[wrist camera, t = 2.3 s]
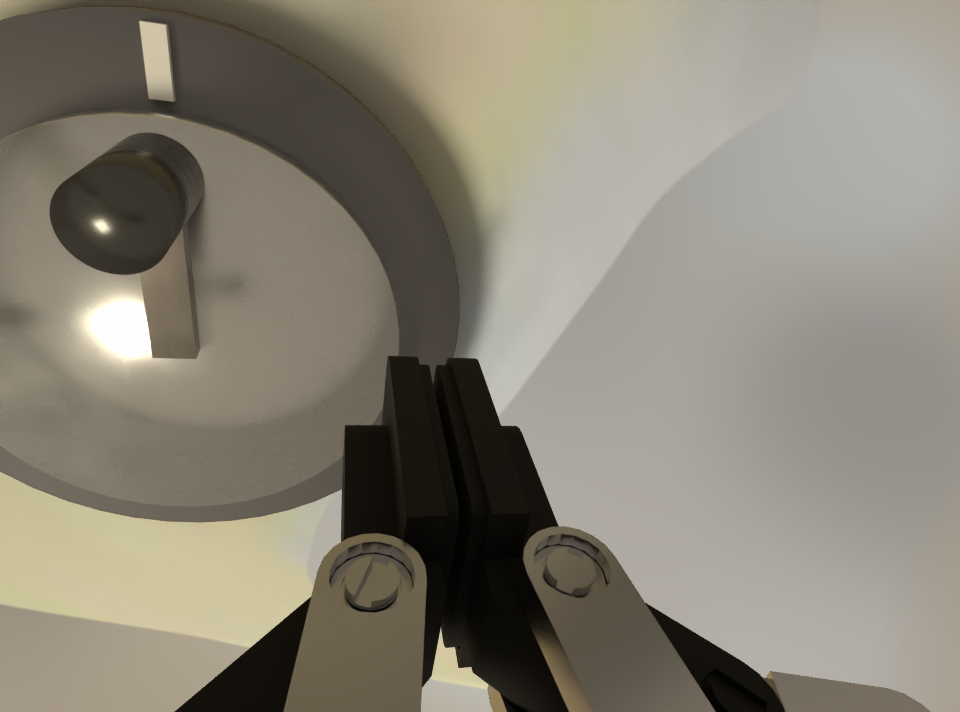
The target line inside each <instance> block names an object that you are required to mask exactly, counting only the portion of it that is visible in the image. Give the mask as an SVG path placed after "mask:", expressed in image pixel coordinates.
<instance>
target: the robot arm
mask: <svg viewBox="0 0 960 712" xmlns="http://www.w3.org/2000/svg"><path fill="white" fill-rule="evenodd" d="M341 519H342V520H341V543H339V544H337V545H336V546H334V547H333V548H332V549H331V550H330V551H329V552H328V554H327V555H326V556H325V557H324V558H323V560H322V562H321V565H320V567H319V569H318V572H317V576H316V580H315V584H314V588H313V592H312V596H311V597H310V598H309V599H308V600H306V601H305V602H304V603H303V604H302V605H301V606H299V607H298V608H297V609H296V610H295V611H293V612H292V613H291V614H290V615H289V616H288V617H286V618H285V619H284V620H283V621H282V622H280V623H279V624H278V625H277V626H276V627H275V628H273V629H272V630H271V631H270V632H269V633H267V634H266V635H265V636H264V637H263V638H261V639H260V640H259V641H258V642H257V643H256V644H254V645H253V646H252V647H251V648H250V649H249V650H247V651H246V652H245V653H244V654H243V655H241V656H240V657H239V658H238V659H237V660H235V661H234V662H233V663H232V664H231V665H230V666H228V667H227V668H226V669H225V670H224V671H222V672H221V673H220V674H219V675H218V676H217V677H215V678H214V679H213V680H212V681H211V682H209V683H208V684H207V685H206V686H205V687H203V688H202V689H201V690H200V691H199V692H198V693H196V694H195V695H194V696H193V697H192V698H190V699H189V700H188V701H187V702H186V703H184V704H183V705H182V706H181V707H180V708H179V709H177V710H176V711H175V712H421V692H422V687H423V686H424V684H425V683H426V682H427V681H428V680H429V678H430V677H431V676H432V670H433V665H434V660H435V654H436V649H437V644H438V638H439V633H440V628H441V630H442V637H443V643H444V646H445V647H446V648H449V647H455V649H456V656H457V662H458V668H464V667H472V671H473V673H474V674H476V675H477V676H478V677H480V678H481V679H482V680H484V681H485V682H486V683H488V694H489V700H490V704H491V707H492V710H493V712H930V711H929V710H928V709H927V708H925V707H924V706H923V705H922V704H920V703H919V702H917V701H915V700H914V699H912V698H910V697H909V696H907V695H905V694H904V693H900V692H897V691H894V690H891V689H888V688H882V687H875V686H868V685H861V684H855V683H848V682H840V681H834V680H827V679H820V678H813V677H807V676H800V675H793V674H786V673H779V672H772V671H770V672H769V674H768V675H767V677H766V678H763V677H761V676H760V674H758V673H757V672H756V671H754V670H753V669H752V668H750V667H749V666H748V665H746V664H745V663H744V662H742V661H741V660H739V659H737V658H736V657H734V656H732V655H731V654H729V653H727V652H726V651H724V650H722V649H721V648H719V647H717V646H716V645H714V644H712V643H710V642H709V641H708V640H706V639H704V638H703V637H701V636H699V635H698V634H696V633H694V632H692V631H691V630H689V629H688V628H686V627H684V626H683V625H681V624H679V623H678V622H676V621H674V620H673V619H671V618H669V617H668V616H666V615H665V614H663V613H661V612H660V611H658V610H656V609H655V608H653V607H651V606H650V605H648V604H646V603H645V602H644V601H643V599H642V597H641V596H640V594H639V593H638V591H637V590H636V588H635V587H634V585H633V584H632V582H631V580H630V579H629V578H628V576H627V574H626V573H625V571H624V570H623V568H622V567H621V565H620V564H619V562H618V561H617V559H616V558H615V556H614V555H613V553H611V551H610V550H609V549H608V548H607V547H606V545H605V544H603V543H602V542H601V541H599V540H598V539H597V538H595V537H594V536H592V535H590V534H588V533H586V532H584V531H581V530H579V529H574V528H570V527H558V524H557V522H556V519H555V516H554V514H553V511H552V509H551V506H550V504H549V501H548V498H547V496H546V493H545V491H544V488H543V486H542V483H541V481H540V478H539V476H538V473H537V470H536V468H535V465H534V463H533V461H532V458H531V455H530V453H529V450H528V448H527V445H526V442H525V440H524V437H523V435H522V432H521V431H520V429H519V428H518V427H517V426H501V424H500V422H499V418H498V416H497V413H496V410H495V407H494V404H493V401H492V399H491V396H490V393H489V390H488V387H487V384H486V381H485V379H484V376H483V373H482V370H481V367H480V364H479V362H478V360H477V359H471V358H448V359H447V361H446V365H437V366H436V369H435V375H434V383H433V381H432V376H431V372H430V367H429V365H424V364H419V359H418V357H412V356H388V358H387V366H386V377H385V389H384V401H383V413H382V425H345V429H344V449H343V474H342V518H341Z"/></svg>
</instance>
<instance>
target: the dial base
mask: <svg viewBox="0 0 960 712" xmlns="http://www.w3.org/2000/svg"><path fill="white" fill-rule="evenodd" d="M121 107H131V108H149V109H163V110H169V111H175V112H180V113H186V114H191V115H197V116H201V117H204V118H207V119H210V120H214V121H217V122H220V123H223V124H227V125H230V126H233V127H235V128H238V129H240V130H242V131H244V132H247V133H249V134H251V135H254V136H256V137H258V138H260V139H263V140H265V141H267V142H268V143H270V144H272V145H274V146H275V147H277V148H279V149H280V150H282V151H284V152H286V153H287V154H289V155H291V156H292V157H294V158H296V159H297V160H298V161H300V162H301V163H302V164H304V165H305V166H306V167H308V168H309V169H310V170H311V171H313V172H314V173H315V174H317V175H318V176H319V177H321V178H322V179H323V180H324V181H325V182H326V183H327V184H328V185H329V186H330V187H331V188H332V189H333V190H334V191H335V192H336V193H337V194H338V195H340V196H341V197H342V198H343V199H344V201H345V202H346V203H347V204H348V206H349V207H350V208H351V209H352V210H353V212H354V213H355V214H356V215H357V217H358V218H359V219H360V220H361V222H362V223H363V225H364V226H365V228H366V230H367V231H368V233H369V235H370V236H371V238H372V239H373V241H374V243H375V244H376V246H377V248H378V251H379V253H380V255H381V257H382V260H383V262H384V264H385V266H386V269H387V272H388V275H389V279H390V282H391V286H392V289H393V293H394V299H395V305H396V312H397V319H398V327H399V356H412V357H418V359H419V364H424V365H429V367H430V372H431V376H432V381H433V383H434V375H435V369H436V366H437V365H446V361H447V359H448V358H453V355H454V351H455V347H456V341H457V333H458V325H459V286H458V279H457V273H456V267H455V261H454V256H453V253H452V250H451V246H450V243H449V240H448V237H447V233H446V230H445V227H444V224H443V222H442V219H441V217H440V215H439V213H438V210H437V208H436V206H435V204H434V202H433V200H432V197H431V195H430V193H429V191H428V189H427V187H426V185H425V182H424V180H423V179H422V177H421V175H420V174H419V172H418V171H417V169H416V168H415V166H414V164H413V163H412V161H411V160H410V158H409V157H408V155H407V153H406V152H405V150H404V149H403V148H402V146H401V145H400V144H399V143H398V142H397V140H396V139H395V138H394V137H393V136H392V134H391V133H390V132H389V131H388V130H387V128H386V127H385V126H384V125H383V124H382V122H381V121H380V120H379V119H378V118H377V117H376V116H375V115H374V114H373V113H372V112H371V111H370V110H368V109H367V108H366V107H365V106H364V105H363V104H362V103H361V102H360V101H359V100H358V99H357V98H356V97H355V96H353V95H352V94H351V93H350V92H349V91H348V90H347V89H345V88H344V87H343V86H341V85H340V84H338V83H337V82H336V81H334V80H333V79H332V78H330V77H329V76H327V75H326V74H325V73H323V72H322V71H321V70H319V69H318V68H316V67H315V66H314V65H312V64H310V63H308V62H307V61H305V60H303V59H301V58H300V57H298V56H296V55H294V54H292V53H291V52H289V51H287V50H285V49H283V48H282V47H280V46H278V45H276V44H274V43H272V42H270V41H267V40H265V39H262V38H260V37H258V36H255V35H253V34H250V33H248V32H245V31H243V30H240V29H238V28H235V27H233V26H231V25H227V24H223V23H220V22H216V21H212V20H208V19H205V18H201V17H197V16H194V15H190V14H186V13H181V12H173V11H166V10H159V9H151V8H144V7H78V8H66V9H59V10H52V11H46V12H39V13H32V14H25V15H19V16H14V17H11V18H8V19H4V20H1V21H0V140H1V139H2V138H5V137H7V136H9V135H11V134H13V133H16V132H18V131H20V130H22V129H25V128H27V127H30V126H33V125H35V124H38V123H41V122H43V121H46V120H49V119H51V118H54V117H58V116H63V115H67V114H72V113H77V112H81V111H86V110H94V109H107V108H121ZM382 413H383V408H382V410H381V411H380V413H379V415H378V417H377V418H376V420H375V421H374V423H373V424H372V425H382ZM0 472H2V473H4V474H6V475H8V476H10V477H12V478H14V479H16V480H18V481H20V482H22V483H24V484H26V485H29V486H31V487H33V488H35V489H38V490H40V491H43V492H45V493H48V494H51V495H53V496H56V497H58V498H61V499H63V500H66V501H69V502H73V503H76V504H80V505H83V506H86V507H90V508H93V509H97V510H100V511H105V512H110V513H115V514H120V515H125V516H130V517H135V518H143V519H152V520H160V521H173V522H216V521H232V520H239V519H246V518H253V517H260V516H265V515H269V514H273V513H278V512H282V511H286V510H290V509H293V508H296V507H299V506H302V505H305V504H308V503H311V502H314V501H317V500H319V499H321V498H323V497H326V496H328V495H330V494H332V493H334V492H337V491H339V490H341V489H342V474H343V456H342V457H341V458H340V459H339V460H338V461H336V462H335V463H334V464H332V465H331V466H329V467H328V468H326V469H325V470H323V471H322V472H320V473H318V474H317V475H315V476H313V477H311V478H309V479H307V480H305V481H303V482H301V483H299V484H297V485H295V486H293V487H290V488H287V489H285V490H282V491H279V492H277V493H274V494H271V495H267V496H263V497H260V498H256V499H252V500H248V501H242V502H236V503H230V504H224V505H211V506H165V505H154V504H144V503H139V502H134V501H128V500H123V499H117V498H113V497H110V496H106V495H103V494H99V493H95V492H92V491H88V490H86V489H83V488H80V487H77V486H75V485H72V484H69V483H67V482H64V481H61V480H59V479H57V478H55V477H53V476H51V475H49V474H47V473H45V472H42V471H40V470H38V469H36V468H34V467H33V466H31V465H29V464H28V463H26V462H24V461H23V460H21V459H19V458H17V457H16V456H14V455H12V454H11V453H9V452H8V451H7V450H5V449H4V448H2V447H1V446H0Z"/></svg>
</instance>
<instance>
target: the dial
mask: <svg viewBox="0 0 960 712" xmlns="http://www.w3.org/2000/svg"><path fill="white" fill-rule="evenodd" d="M388 356H399V327H398V319H397V312H396V305H395V299H394V293H393V289H392V286H391V282H390V279H389V275H388V272H387V269H386V266H385V264H384V262H383V260H382V257H381V255H380V253H379V251H378V248H377V246H376V244H375V243H374V241H373V239H372V238H371V236H370V235H369V233H368V231H367V230H366V228H365V226H364V225H363V223H362V222H361V220H360V219H359V218H358V217H357V215H356V214H355V213H354V212H353V210H352V209H351V208H350V207H349V206H348V204H347V203H346V202H345V201H344V199H343V198H342V197H341V196H340V195H338V194H337V193H336V192H335V191H334V190H333V189H332V188H331V187H330V186H329V185H328V184H327V183H326V182H325V181H324V180H323V179H322V178H321V177H319V176H318V175H317V174H315V173H314V172H313V171H311V170H310V169H309V168H308V167H306V166H305V165H304V164H302V163H301V162H300V161H298V160H297V159H296V158H294V157H292V156H291V155H289V154H287V153H286V152H284V151H282V150H280V149H279V148H277V147H275V146H274V145H272V144H270V143H268V142H267V141H265V140H263V139H260V138H258V137H256V136H254V135H251V134H249V133H247V132H244V131H242V130H240V129H238V128H235V127H233V126H230V125H227V124H223V123H220V122H217V121H214V120H210V119H207V118H204V117H201V116H197V115H191V114H186V113H180V112H175V111H169V110H163V109H149V108H131V107H121V108H107V109H94V110H86V111H81V112H77V113H72V114H67V115H63V116H58V117H54V118H51V119H49V120H46V121H43V122H41V123H38V124H35V125H33V126H30V127H27V128H25V129H22V130H20V131H18V132H16V133H13V134H11V135H9V136H7V137H5V138H2V139H1V140H0V446H1V447H2V448H4V449H5V450H7V451H8V452H9V453H11V454H12V455H14V456H16V457H17V458H19V459H21V460H23V461H24V462H26V463H28V464H29V465H31V466H33V467H34V468H36V469H38V470H40V471H42V472H45V473H47V474H49V475H51V476H53V477H55V478H57V479H59V480H61V481H64V482H67V483H69V484H72V485H75V486H77V487H80V488H83V489H86V490H88V491H92V492H95V493H99V494H103V495H106V496H110V497H113V498H117V499H123V500H128V501H134V502H139V503H144V504H154V505H165V506H211V505H224V504H230V503H236V502H242V501H248V500H252V499H256V498H260V497H263V496H267V495H271V494H274V493H277V492H279V491H282V490H285V489H287V488H290V487H293V486H295V485H297V484H299V483H301V482H303V481H305V480H307V479H309V478H311V477H313V476H315V475H317V474H318V473H320V472H322V471H323V470H325V469H326V468H328V467H329V466H331V465H332V464H334V463H335V462H336V461H338V460H339V459H340V458H341V457H342V456H343V449H344V429H345V425H372V424H373V423H374V421H375V420H376V418H377V417H378V415H379V413H380V411H381V410H382V408H383V401H384V389H385V377H386V366H387V358H388Z"/></svg>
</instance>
